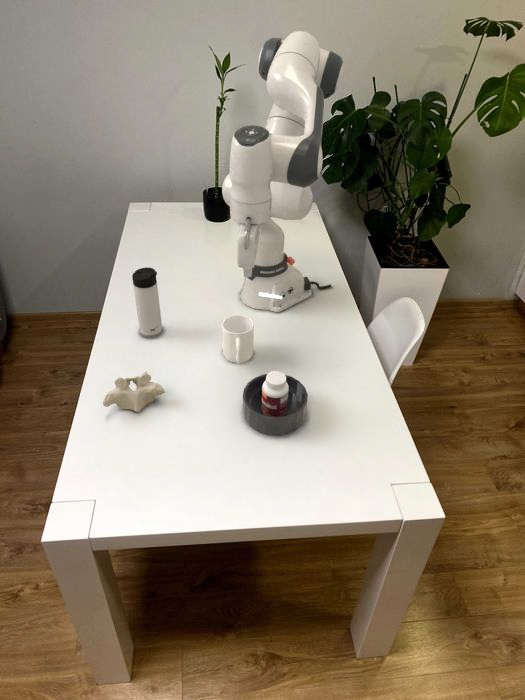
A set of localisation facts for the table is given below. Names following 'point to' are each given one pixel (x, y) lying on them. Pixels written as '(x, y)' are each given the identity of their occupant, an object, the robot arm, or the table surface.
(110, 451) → the table surface
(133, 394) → the bone
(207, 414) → the table surface
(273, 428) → the bowl
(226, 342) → the cup
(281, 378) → the pill bottle
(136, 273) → the travel mug
